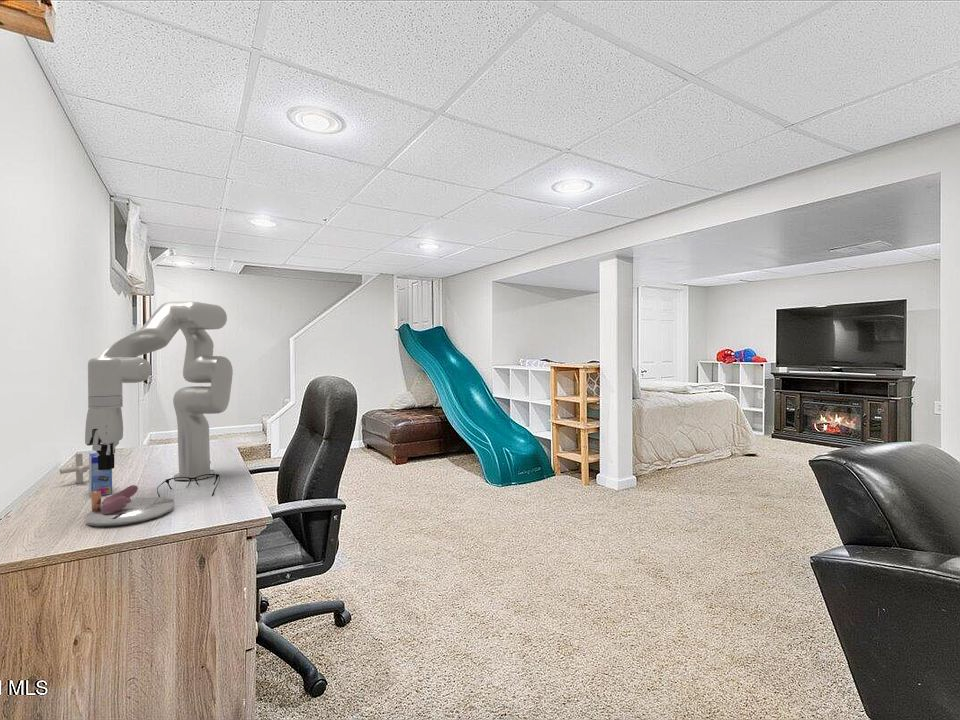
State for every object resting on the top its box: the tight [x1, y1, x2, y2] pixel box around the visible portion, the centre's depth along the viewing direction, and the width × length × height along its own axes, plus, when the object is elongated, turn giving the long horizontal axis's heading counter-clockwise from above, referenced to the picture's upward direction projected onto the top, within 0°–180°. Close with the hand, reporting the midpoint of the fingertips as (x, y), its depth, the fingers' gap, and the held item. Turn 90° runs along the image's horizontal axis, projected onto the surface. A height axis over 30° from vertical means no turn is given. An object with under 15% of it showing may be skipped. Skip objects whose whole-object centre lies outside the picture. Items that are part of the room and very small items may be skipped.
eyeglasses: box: [156, 473, 221, 497], centre depth 151 cm, size 16×16×4 cm
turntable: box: [85, 490, 175, 527], centre depth 130 cm, size 19×19×6 cm
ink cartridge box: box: [88, 451, 113, 496], centre depth 153 cm, size 10×6×14 cm, turn 42°
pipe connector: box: [59, 452, 89, 484], centre depth 165 cm, size 10×10×10 cm
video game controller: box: [100, 484, 139, 514], centre depth 129 cm, size 10×5×7 cm
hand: (106, 469), depth 134 cm, fingers closed
